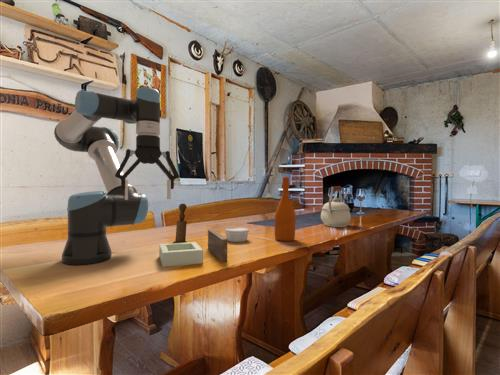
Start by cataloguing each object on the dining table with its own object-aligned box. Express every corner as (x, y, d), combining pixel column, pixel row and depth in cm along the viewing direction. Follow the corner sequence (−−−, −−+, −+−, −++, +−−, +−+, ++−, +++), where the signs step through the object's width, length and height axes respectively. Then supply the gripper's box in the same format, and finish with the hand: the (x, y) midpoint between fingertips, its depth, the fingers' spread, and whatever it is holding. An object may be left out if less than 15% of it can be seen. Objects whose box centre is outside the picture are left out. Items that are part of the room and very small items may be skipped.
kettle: (327, 222, 202) (328, 185, 201) (354, 224, 191) (356, 186, 191) (312, 226, 182) (313, 186, 181) (342, 230, 171) (343, 187, 170)
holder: (162, 266, 94) (162, 252, 94) (159, 256, 106) (159, 244, 106) (202, 263, 99) (203, 249, 99) (195, 253, 111) (195, 241, 111)
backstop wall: (221, 262, 101) (221, 239, 100) (207, 249, 119) (208, 229, 119) (227, 262, 101) (227, 239, 101) (212, 249, 120) (212, 229, 120)
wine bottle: (298, 239, 142) (299, 177, 142) (289, 242, 134) (291, 176, 133) (280, 236, 148) (281, 176, 147) (270, 240, 139) (271, 176, 139)
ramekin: (236, 236, 146) (236, 226, 146) (253, 240, 139) (253, 229, 139) (220, 240, 138) (220, 229, 137) (237, 244, 131) (238, 232, 130)
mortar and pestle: (173, 250, 113) (176, 202, 115) (169, 248, 118) (172, 203, 120) (190, 249, 116) (193, 204, 118) (185, 248, 121) (188, 204, 124)
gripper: (106, 131, 90) (107, 200, 90) (188, 137, 101) (187, 199, 101) (106, 134, 96) (106, 199, 97) (182, 139, 107) (182, 198, 108)
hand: (148, 199), depth 99 cm, fingers open, 13 cm apart
